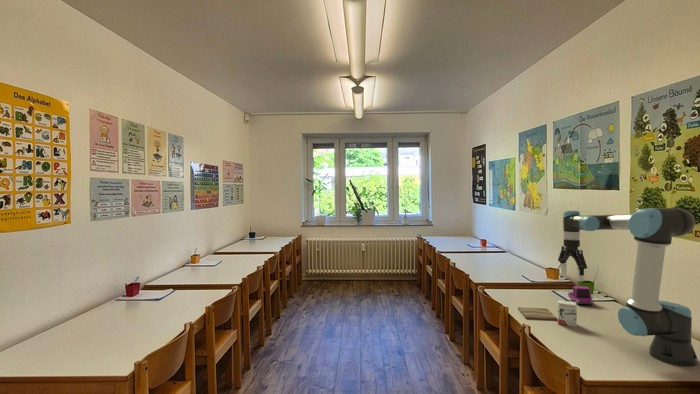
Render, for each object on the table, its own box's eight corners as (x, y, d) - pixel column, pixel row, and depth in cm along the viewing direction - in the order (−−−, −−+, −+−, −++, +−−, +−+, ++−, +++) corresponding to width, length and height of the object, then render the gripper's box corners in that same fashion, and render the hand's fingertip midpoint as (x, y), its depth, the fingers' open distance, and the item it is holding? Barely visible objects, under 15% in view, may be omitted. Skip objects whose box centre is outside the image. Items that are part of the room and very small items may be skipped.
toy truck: (575, 305, 218) (575, 289, 218) (566, 298, 233) (566, 282, 233) (595, 306, 216) (595, 290, 216) (584, 298, 231) (584, 283, 231)
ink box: (557, 324, 189) (557, 302, 189) (557, 321, 194) (557, 299, 193) (577, 327, 185) (576, 304, 185) (576, 323, 190) (576, 302, 189)
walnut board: (557, 320, 195) (557, 318, 195) (526, 319, 198) (526, 316, 198) (546, 310, 211) (546, 308, 211) (517, 309, 214) (517, 307, 214)
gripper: (595, 242, 180) (595, 283, 180) (563, 235, 205) (563, 272, 205) (580, 242, 179) (581, 284, 180) (550, 236, 204) (551, 272, 205)
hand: (572, 278), depth 192 cm, fingers open, 13 cm apart
